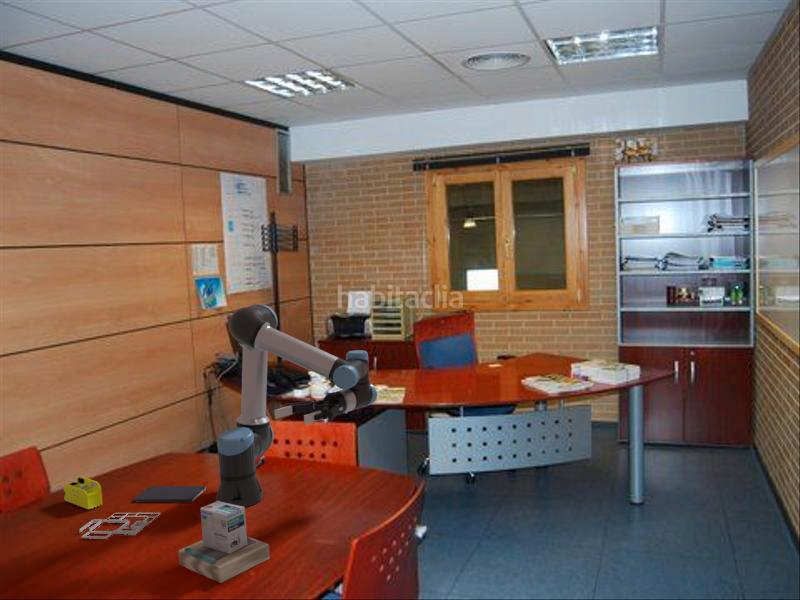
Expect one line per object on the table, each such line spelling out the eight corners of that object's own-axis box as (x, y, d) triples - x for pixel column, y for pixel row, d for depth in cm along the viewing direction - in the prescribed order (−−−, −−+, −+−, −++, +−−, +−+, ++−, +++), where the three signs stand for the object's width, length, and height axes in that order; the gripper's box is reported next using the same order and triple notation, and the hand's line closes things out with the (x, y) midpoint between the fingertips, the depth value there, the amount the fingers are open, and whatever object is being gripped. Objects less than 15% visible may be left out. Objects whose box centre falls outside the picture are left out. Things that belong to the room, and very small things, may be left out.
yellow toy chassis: (104, 506, 228) (102, 482, 228) (87, 512, 224) (85, 487, 223) (80, 497, 238) (78, 474, 237) (63, 502, 234) (61, 479, 233)
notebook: (132, 503, 231) (192, 503, 228) (132, 499, 231) (191, 499, 228) (150, 490, 243) (207, 490, 241) (150, 486, 243) (206, 485, 241)
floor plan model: (59, 550, 196) (58, 543, 196) (107, 515, 221) (106, 509, 221) (119, 551, 194) (118, 544, 194) (161, 516, 219) (160, 510, 218)
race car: (246, 475, 253) (245, 463, 253) (231, 474, 255) (230, 461, 255) (269, 461, 268) (268, 449, 268) (254, 460, 271) (253, 448, 270)
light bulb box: (248, 544, 183) (245, 506, 182) (229, 555, 177) (226, 515, 176) (221, 537, 189) (218, 499, 188) (202, 546, 183) (199, 508, 182)
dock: (179, 564, 182) (178, 546, 182) (228, 542, 195) (227, 525, 194) (220, 583, 171) (219, 563, 171) (269, 558, 184) (268, 539, 183)
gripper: (367, 418, 216) (318, 434, 200) (314, 409, 232) (264, 423, 216) (366, 395, 215) (317, 409, 199) (312, 387, 231) (263, 400, 215)
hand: (289, 417), depth 207 cm, fingers open, 13 cm apart
